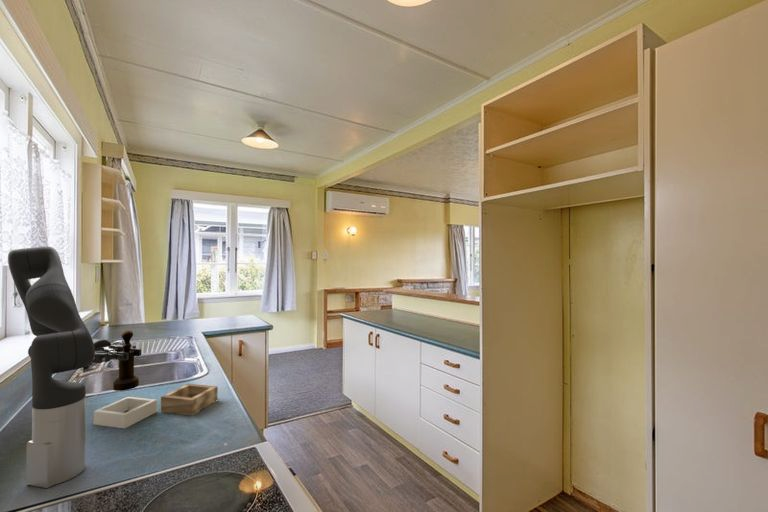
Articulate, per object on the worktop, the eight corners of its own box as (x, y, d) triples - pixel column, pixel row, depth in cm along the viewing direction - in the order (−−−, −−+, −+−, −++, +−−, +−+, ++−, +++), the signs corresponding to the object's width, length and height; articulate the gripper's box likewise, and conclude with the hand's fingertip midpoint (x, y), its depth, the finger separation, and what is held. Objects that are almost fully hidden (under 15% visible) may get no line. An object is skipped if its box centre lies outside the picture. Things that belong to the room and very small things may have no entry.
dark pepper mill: (116, 384, 113) (117, 328, 113) (140, 382, 116) (141, 327, 116) (110, 392, 107) (111, 333, 107) (136, 389, 110) (137, 331, 110)
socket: (192, 415, 113) (192, 400, 113) (160, 411, 116) (161, 396, 116) (217, 400, 125) (217, 386, 125) (188, 397, 128) (188, 383, 128)
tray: (124, 428, 105) (124, 415, 105) (93, 424, 107) (93, 411, 107) (156, 411, 116) (156, 399, 116) (128, 408, 118) (128, 396, 118)
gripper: (66, 344, 107) (112, 348, 104) (111, 334, 121) (153, 337, 118) (66, 368, 107) (112, 374, 104) (110, 355, 121) (153, 359, 118)
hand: (134, 354), depth 111 cm, fingers closed on dark pepper mill, 3 cm apart
